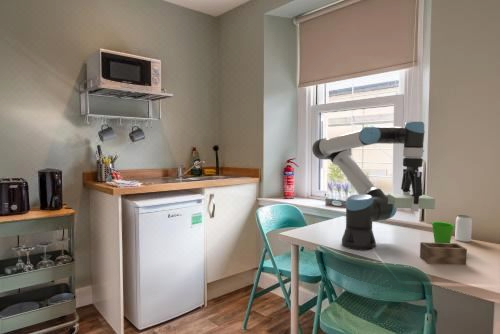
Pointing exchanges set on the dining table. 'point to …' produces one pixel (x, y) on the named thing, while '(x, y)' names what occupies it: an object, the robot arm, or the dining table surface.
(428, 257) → the box
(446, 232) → the cup
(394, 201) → the lid
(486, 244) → the dining table surface
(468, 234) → the can
